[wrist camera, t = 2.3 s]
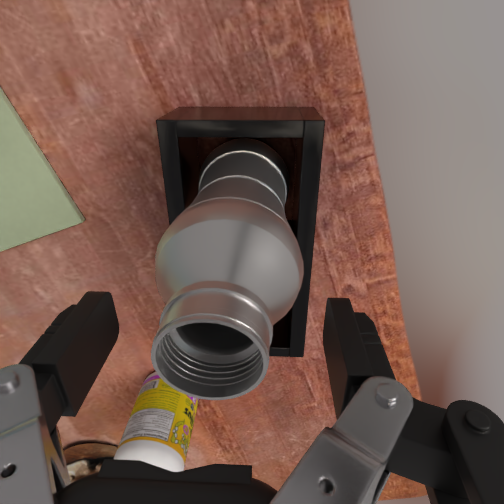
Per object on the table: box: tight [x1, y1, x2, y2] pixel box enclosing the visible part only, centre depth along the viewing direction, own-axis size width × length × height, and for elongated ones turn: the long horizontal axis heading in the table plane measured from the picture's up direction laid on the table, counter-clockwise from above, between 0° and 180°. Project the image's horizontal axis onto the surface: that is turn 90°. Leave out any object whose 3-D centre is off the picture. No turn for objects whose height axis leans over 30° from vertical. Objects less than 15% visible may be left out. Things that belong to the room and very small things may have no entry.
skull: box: [63, 443, 118, 483], centre depth 49 cm, size 12×10×10 cm
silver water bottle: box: [151, 138, 304, 400], centre depth 20 cm, size 6×7×20 cm
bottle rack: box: [156, 107, 325, 357], centre depth 28 cm, size 19×10×6 cm, turn 0°
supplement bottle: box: [114, 372, 199, 472], centre depth 36 cm, size 7×7×13 cm
